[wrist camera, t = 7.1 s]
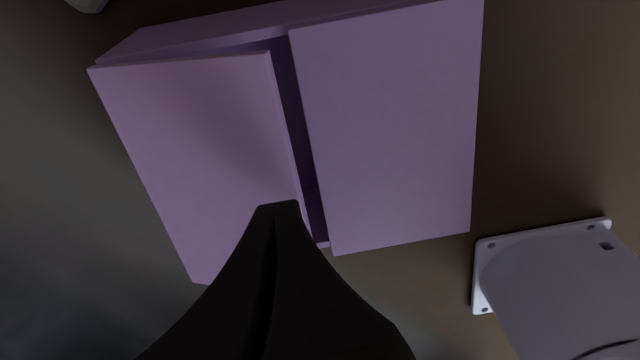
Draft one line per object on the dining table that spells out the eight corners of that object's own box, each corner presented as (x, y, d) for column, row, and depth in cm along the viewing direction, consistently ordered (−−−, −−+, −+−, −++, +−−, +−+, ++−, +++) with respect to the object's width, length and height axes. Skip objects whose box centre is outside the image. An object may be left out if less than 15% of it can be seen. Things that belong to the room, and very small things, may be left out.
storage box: (211, 207, 24) (192, 283, 19) (139, 28, 18) (84, 67, 13) (430, 166, 24) (471, 232, 19) (428, -28, 18) (487, -11, 13)
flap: (196, 276, 19) (192, 282, 19) (93, 65, 14) (85, 68, 13) (325, 292, 17) (323, 300, 17) (269, 49, 11) (264, 53, 11)
